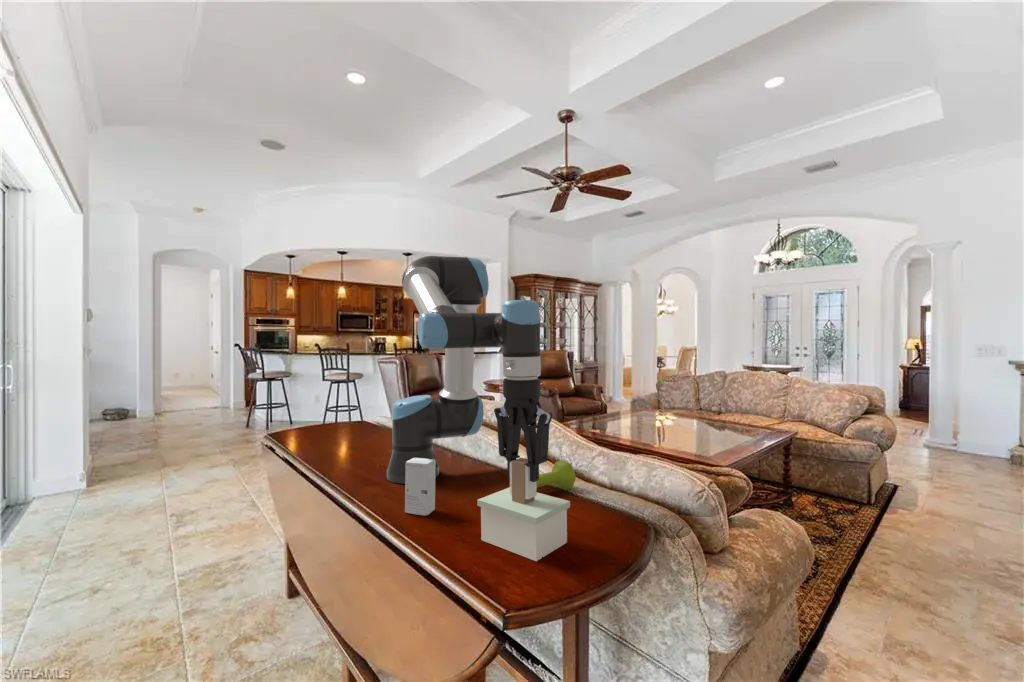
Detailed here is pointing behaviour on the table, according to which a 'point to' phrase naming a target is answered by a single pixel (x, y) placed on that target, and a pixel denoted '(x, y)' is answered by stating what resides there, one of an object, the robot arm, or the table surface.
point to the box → (524, 533)
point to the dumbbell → (558, 476)
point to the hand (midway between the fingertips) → (523, 494)
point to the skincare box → (420, 486)
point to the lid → (523, 499)
